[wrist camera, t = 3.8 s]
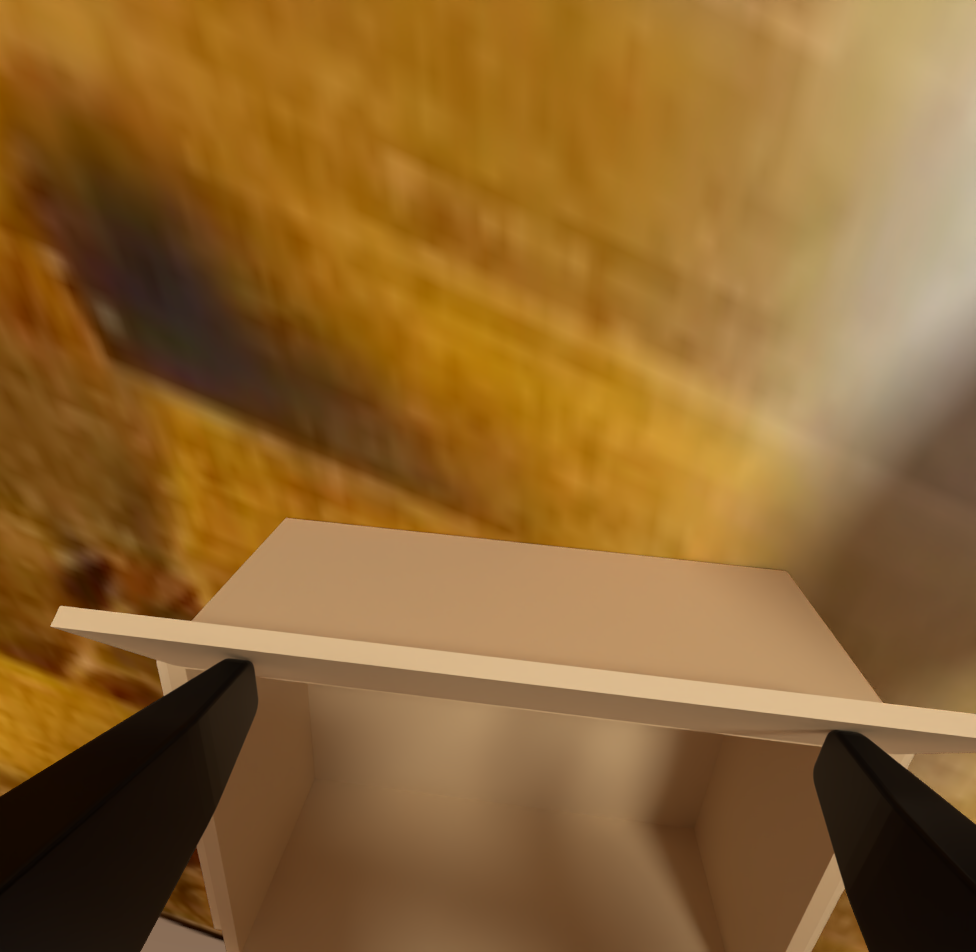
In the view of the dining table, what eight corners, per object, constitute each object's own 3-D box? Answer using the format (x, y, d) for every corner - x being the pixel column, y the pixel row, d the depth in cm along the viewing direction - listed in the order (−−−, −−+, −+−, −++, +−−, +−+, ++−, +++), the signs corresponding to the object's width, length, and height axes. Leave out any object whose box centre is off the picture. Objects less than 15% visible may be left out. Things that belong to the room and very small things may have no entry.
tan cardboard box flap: (895, 754, 10) (892, 736, 11) (1076, 749, 7) (1067, 724, 7) (175, 666, 11) (181, 650, 11) (51, 626, 8) (60, 605, 8)
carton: (806, 573, 16) (941, 745, 11) (714, 833, 21) (776, 1047, 15) (268, 516, 17) (138, 648, 12) (294, 777, 22) (210, 960, 16)
